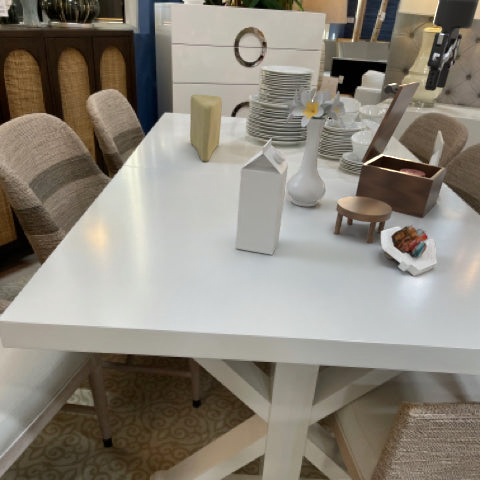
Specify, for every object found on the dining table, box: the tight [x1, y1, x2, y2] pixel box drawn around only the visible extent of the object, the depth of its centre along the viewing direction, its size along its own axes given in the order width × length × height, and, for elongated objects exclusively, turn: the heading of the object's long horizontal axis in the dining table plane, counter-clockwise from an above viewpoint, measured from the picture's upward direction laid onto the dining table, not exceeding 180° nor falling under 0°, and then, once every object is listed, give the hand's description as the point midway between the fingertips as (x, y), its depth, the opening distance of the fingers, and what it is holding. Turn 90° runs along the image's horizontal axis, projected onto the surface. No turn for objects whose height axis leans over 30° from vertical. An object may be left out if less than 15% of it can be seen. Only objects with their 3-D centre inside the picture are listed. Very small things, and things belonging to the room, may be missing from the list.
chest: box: [355, 153, 448, 219], centre depth 116 cm, size 17×14×9 cm
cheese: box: [189, 94, 223, 163], centre depth 141 cm, size 22×10×15 cm, turn 4°
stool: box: [333, 195, 393, 245], centre depth 98 cm, size 11×11×6 cm
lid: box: [361, 81, 421, 164], centre depth 112 cm, size 18×14×5 cm
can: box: [399, 169, 425, 177], centre depth 115 cm, size 6×6×7 cm
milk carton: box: [235, 138, 289, 256], centre depth 85 cm, size 7×7×19 cm
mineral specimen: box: [380, 224, 438, 277], centre depth 88 cm, size 12×12×7 cm
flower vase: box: [284, 86, 346, 208], centre depth 107 cm, size 13×18×25 cm
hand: (434, 88), depth 103 cm, fingers open, 8 cm apart
